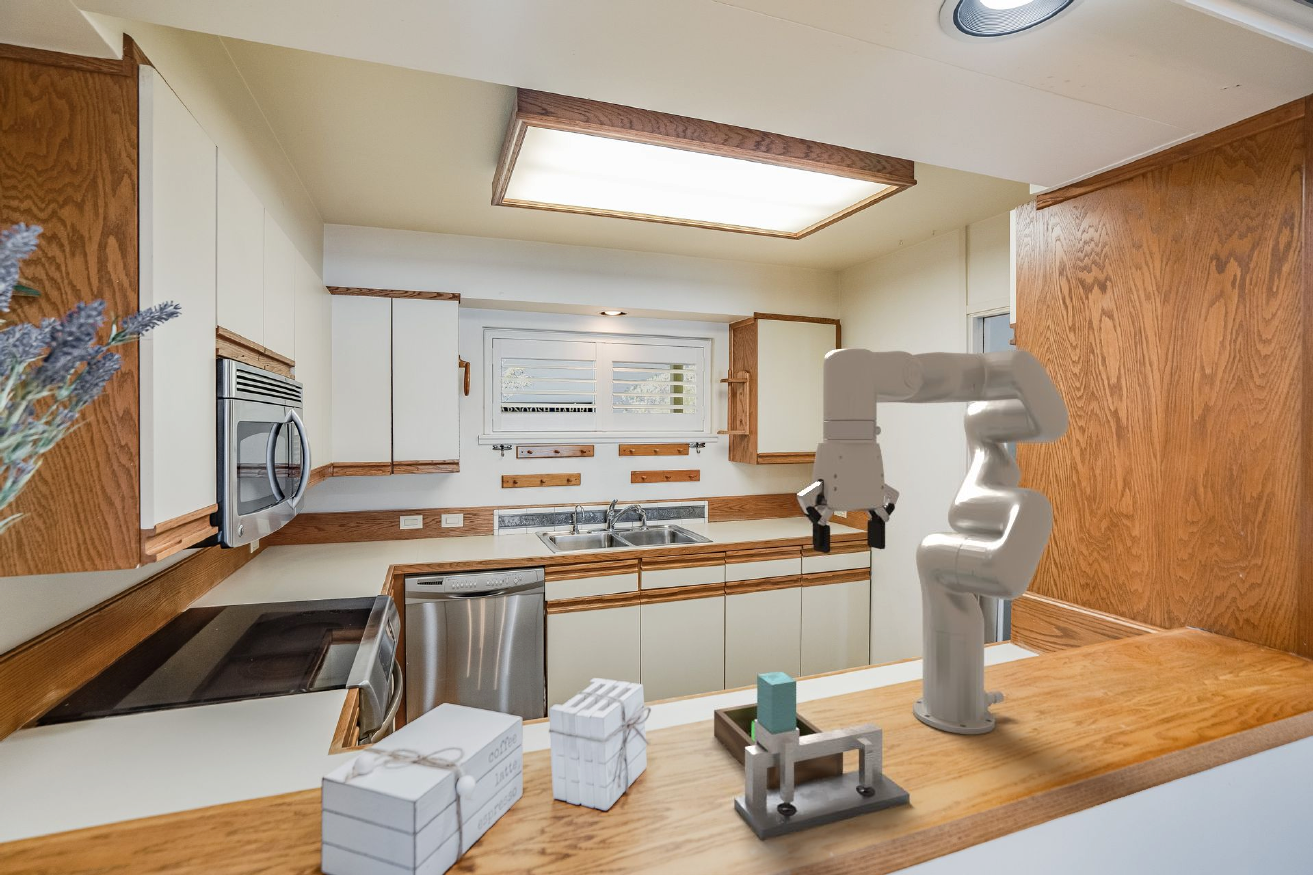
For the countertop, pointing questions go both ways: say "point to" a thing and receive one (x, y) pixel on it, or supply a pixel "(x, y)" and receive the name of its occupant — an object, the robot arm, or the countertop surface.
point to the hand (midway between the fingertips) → (849, 549)
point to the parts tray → (733, 736)
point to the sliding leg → (778, 725)
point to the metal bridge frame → (812, 747)
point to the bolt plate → (820, 804)
